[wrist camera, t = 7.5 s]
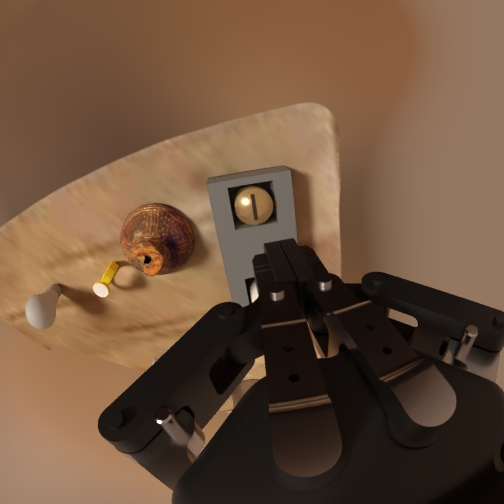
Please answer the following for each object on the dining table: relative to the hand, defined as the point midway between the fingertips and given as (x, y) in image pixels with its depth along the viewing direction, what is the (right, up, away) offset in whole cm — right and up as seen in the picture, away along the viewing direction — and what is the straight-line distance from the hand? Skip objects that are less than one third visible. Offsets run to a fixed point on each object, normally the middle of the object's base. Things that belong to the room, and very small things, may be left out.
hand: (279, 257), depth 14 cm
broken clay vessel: (-16, +3, +28) cm, 32 cm away
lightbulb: (-39, -6, +29) cm, 49 cm away
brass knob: (-1, +8, +26) cm, 27 cm away
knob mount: (-1, +2, +29) cm, 29 cm away
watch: (-25, -3, +29) cm, 39 cm away
